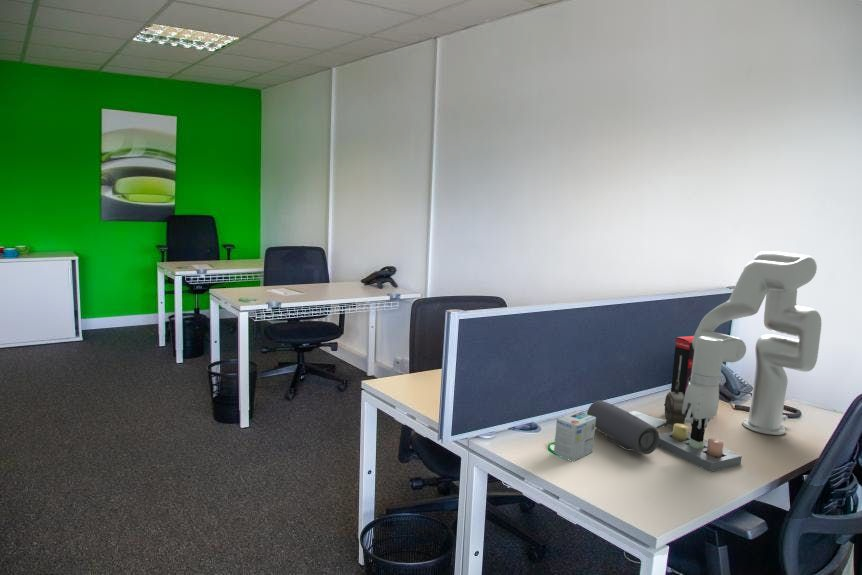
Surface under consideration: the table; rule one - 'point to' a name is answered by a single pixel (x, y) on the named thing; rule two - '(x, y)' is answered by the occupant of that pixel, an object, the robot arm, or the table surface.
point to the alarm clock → (674, 407)
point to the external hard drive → (650, 419)
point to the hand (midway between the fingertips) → (696, 439)
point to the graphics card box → (682, 363)
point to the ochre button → (680, 432)
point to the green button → (696, 444)
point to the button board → (698, 453)
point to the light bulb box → (574, 435)
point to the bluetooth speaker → (624, 428)
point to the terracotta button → (715, 448)
